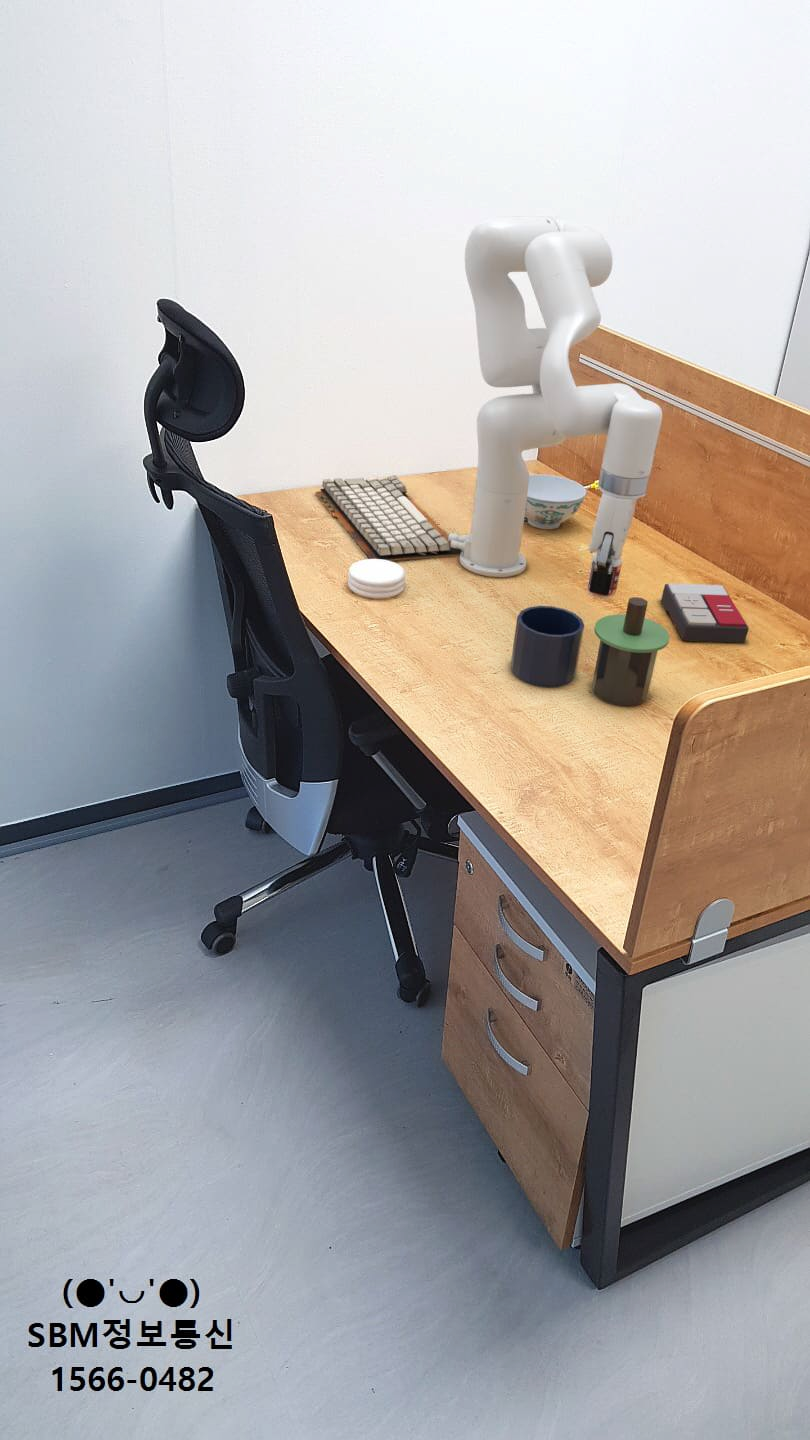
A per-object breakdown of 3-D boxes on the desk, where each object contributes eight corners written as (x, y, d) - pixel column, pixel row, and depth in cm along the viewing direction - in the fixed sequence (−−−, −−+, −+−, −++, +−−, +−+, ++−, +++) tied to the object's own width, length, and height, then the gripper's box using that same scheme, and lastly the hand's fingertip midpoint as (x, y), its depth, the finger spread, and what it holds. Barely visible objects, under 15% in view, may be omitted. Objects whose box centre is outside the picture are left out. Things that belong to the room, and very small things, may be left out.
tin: (503, 678, 172) (510, 627, 167) (519, 650, 180) (526, 600, 175) (567, 693, 169) (576, 642, 164) (580, 664, 177) (589, 614, 172)
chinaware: (498, 527, 224) (502, 491, 219) (520, 504, 235) (525, 469, 231) (569, 543, 219) (575, 506, 215) (588, 518, 231) (594, 483, 227)
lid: (586, 646, 162) (593, 608, 159) (601, 615, 171) (607, 579, 168) (662, 663, 160) (670, 625, 156) (673, 630, 169) (681, 594, 165)
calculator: (687, 622, 184) (665, 579, 197) (682, 644, 187) (660, 600, 199) (751, 624, 185) (724, 581, 198) (744, 646, 188) (718, 602, 200)
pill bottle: (617, 600, 179) (627, 553, 175) (588, 598, 179) (597, 551, 175) (613, 587, 183) (622, 541, 179) (584, 585, 183) (593, 538, 179)
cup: (586, 698, 168) (596, 644, 163) (597, 673, 175) (607, 620, 170) (642, 712, 166) (654, 657, 161) (651, 685, 173) (663, 632, 168)
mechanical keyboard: (466, 555, 211) (467, 539, 209) (373, 565, 204) (374, 548, 203) (394, 486, 240) (395, 471, 238) (310, 493, 233) (311, 477, 232)
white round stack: (383, 571, 202) (384, 553, 200) (415, 592, 195) (416, 574, 193) (337, 582, 197) (337, 564, 195) (368, 604, 190) (369, 586, 188)
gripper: (610, 459, 178) (590, 561, 188) (588, 494, 165) (568, 602, 175) (655, 468, 176) (633, 571, 187) (638, 504, 163) (615, 613, 173)
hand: (602, 585), depth 181 cm, fingers closed on pill bottle, 4 cm apart
